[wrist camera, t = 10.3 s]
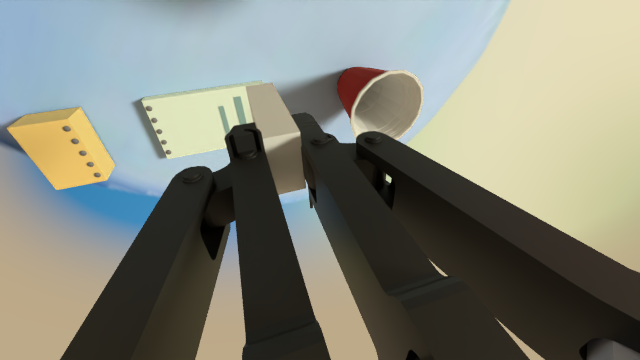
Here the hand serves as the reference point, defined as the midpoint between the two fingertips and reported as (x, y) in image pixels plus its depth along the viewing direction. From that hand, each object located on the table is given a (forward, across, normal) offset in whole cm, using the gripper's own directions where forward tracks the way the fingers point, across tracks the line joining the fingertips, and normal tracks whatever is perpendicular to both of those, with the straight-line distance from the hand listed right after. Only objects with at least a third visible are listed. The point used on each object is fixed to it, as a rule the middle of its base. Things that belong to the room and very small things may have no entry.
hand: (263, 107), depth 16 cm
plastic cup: (+27, +17, -9) cm, 33 cm away
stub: (+26, -24, -10) cm, 37 cm away
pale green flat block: (+26, -6, -10) cm, 29 cm away
